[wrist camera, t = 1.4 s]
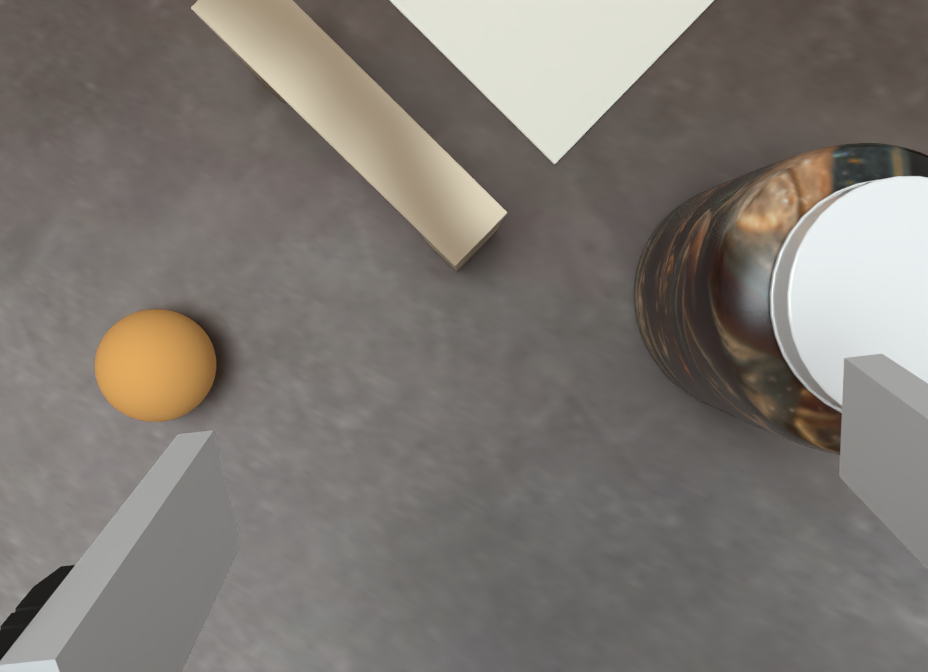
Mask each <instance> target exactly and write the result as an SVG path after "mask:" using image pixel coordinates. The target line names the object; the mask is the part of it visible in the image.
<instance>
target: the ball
mask: <svg viewBox="0 0 928 672" xmlns="http://www.w3.org/2000/svg"><path fill="white" fill-rule="evenodd" d="M95 374H96V379H97V382H98V385H99V388H100V390H101V392H102V393H103V395H104V396H105V398H106V399H107V401H108V402H109V403H110V404H111V405H112V406H113V407H115V408H116V409H117V410H118V411H120V412H122V413H123V414H125V415H127V416H129V417H132V418H134V419H138V420H142V421H150V422H161V421H167V420H172V419H175V418H178V417H181V416H183V415H185V414H187V413H188V412H190V411H191V410H193V409H194V408H195V407H197V406H198V405H199V404H200V403H201V402H202V401H203V399H204V398H205V397H206V395H207V394H208V392H209V391H210V389H211V387H212V384H213V382H214V378H215V374H216V356H215V351H214V348H213V345H212V343H211V341H210V339H209V337H208V336H207V334H206V333H205V331H204V330H203V329H202V328H201V327H200V326H199V325H198V324H197V323H196V322H194V321H193V320H191V319H190V318H188V317H186V316H184V315H182V314H180V313H177V312H174V311H170V310H164V309H149V310H144V311H139V312H136V313H133V314H130V315H128V316H126V317H124V318H123V319H121V320H120V321H118V322H117V323H116V324H114V325H113V326H112V327H111V328H110V329H109V331H108V332H107V333H106V334H105V336H104V337H103V339H102V341H101V342H100V345H99V347H98V350H97V353H96V358H95Z"/></svg>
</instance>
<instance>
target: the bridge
mask: <svg viewBox="0 0 928 672" xmlns="http://www.w3.org/2000/svg"><path fill="white" fill-rule="evenodd" d="M191 9H192V10H193V11H194V12H195V13H196V14H197V15H198V16H199V17H200V18H201V19H202V20H203V21H204V22H205V23H206V24H207V25H208V26H209V27H210V29H211V30H212V31H213V32H214V33H215V34H216V35H217V36H218V37H219V38H220V39H221V40H222V41H223V42H224V43H225V44H226V45H227V46H228V47H229V48H230V49H231V51H232V52H233V53H234V54H235V55H236V56H237V57H238V58H239V59H240V60H241V61H242V62H243V63H244V64H245V65H246V66H247V67H248V68H249V69H250V70H251V71H252V73H253V74H254V75H255V76H256V77H257V78H258V79H259V80H260V81H262V82H263V83H264V84H265V85H266V86H267V87H268V88H269V89H270V90H271V91H272V92H273V93H274V94H275V95H276V96H277V97H278V98H279V99H280V100H281V101H282V102H284V100H285V101H286V102H287V103H288V104H289V105H290V106H291V107H292V108H293V109H294V110H295V111H296V112H297V113H298V114H299V115H300V116H301V117H302V118H303V119H304V120H305V121H306V122H307V123H308V124H309V125H310V126H311V127H312V128H313V129H314V130H315V131H316V132H317V133H318V134H319V135H320V136H322V137H323V138H324V139H325V140H326V141H327V142H328V143H329V144H330V145H331V146H332V147H333V148H334V149H335V150H336V151H337V152H338V153H339V154H340V155H341V156H342V157H343V158H344V159H345V160H346V161H347V162H348V163H349V164H350V165H351V166H352V167H353V168H354V169H355V170H356V171H357V172H358V173H359V174H360V175H361V176H362V177H363V178H364V179H365V180H366V181H368V182H369V183H370V184H371V185H372V186H373V187H374V188H375V189H376V190H377V191H378V192H379V193H380V194H381V195H382V196H383V197H384V198H385V199H386V200H387V201H388V202H389V203H390V204H391V205H392V206H393V207H394V208H395V209H396V210H397V211H398V212H399V213H400V214H401V215H402V216H403V217H404V218H405V219H406V220H407V221H408V222H409V223H410V224H411V225H412V226H414V227H415V228H416V229H417V230H418V231H419V232H420V233H421V235H422V236H423V237H424V239H425V240H426V242H427V243H428V245H429V246H430V247H431V248H432V249H433V250H434V251H435V252H436V253H437V254H438V255H439V256H440V257H441V258H442V259H443V260H444V261H446V262H447V263H448V264H449V265H450V266H451V267H452V268H453V269H454V270H455V271H456V272H457V271H458V270H459V269H460V268H461V267H462V266H463V265H464V264H465V263H466V262H467V261H468V260H469V259H470V258H471V257H472V256H473V255H474V254H475V253H476V252H477V251H478V250H479V249H480V248H481V247H482V246H483V245H484V244H485V243H486V242H487V241H488V240H489V239H490V238H491V236H492V235H493V234H494V233H495V232H496V231H497V230H498V228H499V226H500V225H501V223H502V221H503V219H504V218H505V216H506V214H507V212H506V211H505V210H504V209H503V208H502V207H501V206H500V205H499V204H498V203H497V202H496V201H495V200H494V199H493V198H492V197H491V196H490V195H489V194H488V193H487V192H486V191H485V190H484V189H483V188H482V187H481V186H480V185H479V184H478V183H477V182H476V181H475V180H474V179H473V178H472V177H471V176H470V175H469V174H468V173H467V172H466V171H465V170H464V169H463V168H462V167H461V166H460V165H459V164H458V163H457V162H456V161H455V160H454V159H453V158H452V157H451V156H450V155H449V154H448V153H447V152H446V151H445V150H444V149H443V148H442V147H440V146H439V145H438V144H437V143H436V142H435V141H434V140H433V139H432V138H431V137H430V136H429V135H428V134H427V133H426V132H425V131H424V130H423V129H422V128H421V127H420V126H419V125H418V124H417V123H416V122H415V121H414V120H413V119H412V118H411V117H410V116H409V115H408V114H407V113H406V112H405V111H404V110H403V109H402V108H401V107H400V106H399V105H398V104H397V103H396V102H395V101H394V100H393V99H392V98H391V97H390V96H389V95H388V94H387V93H386V92H385V91H384V90H383V89H382V88H381V87H380V86H379V85H378V84H377V83H376V82H375V81H374V80H373V79H372V78H371V77H370V76H369V75H368V74H367V73H365V72H364V71H363V70H362V69H361V68H360V67H359V66H358V65H357V64H356V63H355V62H354V61H353V60H352V59H351V58H350V57H349V56H348V55H347V54H346V53H345V52H344V51H343V50H342V49H341V48H340V47H339V46H338V45H337V44H336V43H335V42H334V41H333V40H332V39H331V38H330V37H329V36H328V35H327V34H326V33H325V32H324V31H323V30H322V29H321V28H320V27H319V26H318V25H317V24H316V23H315V22H314V21H313V20H312V19H311V18H310V17H309V16H308V15H307V14H306V13H305V12H304V11H303V10H302V9H301V8H300V7H299V6H298V5H297V4H296V3H295V2H294V1H293V0H198V1H197V2H196V3H195V4H194V5H193V6H192V7H191Z"/></svg>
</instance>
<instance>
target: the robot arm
mask: <svg viewBox="0 0 928 672" xmlns="http://www.w3.org/2000/svg"><path fill="white" fill-rule="evenodd" d="M839 477H840V478H841V479H842V480H843V481H844V482H845V483H846V484H847V485H848V486H849V488H850V489H851V490H852V491H853V492H854V493H855V494H856V495H857V496H858V497H859V498H860V499H861V500H862V501H863V502H864V503H865V504H866V505H867V506H868V508H869V509H870V510H871V511H872V512H873V513H874V514H875V515H876V516H877V517H878V518H879V519H880V520H881V521H882V522H883V523H884V524H885V525H886V526H887V528H888V529H889V530H890V531H891V532H892V533H893V534H894V535H895V536H896V537H897V538H898V539H899V540H900V541H901V542H902V543H903V544H904V545H905V546H906V548H907V549H908V550H909V551H910V552H911V553H912V554H913V555H914V556H915V557H916V558H917V559H918V560H919V561H920V562H921V563H922V564H923V565H924V566H925V568H926V569H927V570H928V383H926V382H925V381H923V380H922V379H920V378H919V377H917V376H915V375H914V374H912V373H911V372H909V371H908V370H906V369H905V368H903V367H902V366H900V365H899V364H897V363H896V362H894V361H893V360H891V359H890V358H888V357H886V356H885V355H883V354H875V355H866V356H857V357H848V358H844V375H843V399H842V422H841V446H840V470H839ZM241 543H242V541H241V537H240V533H239V529H238V525H237V521H236V517H235V513H234V509H233V505H232V501H231V497H230V494H229V490H228V486H227V482H226V478H225V474H224V470H223V466H222V462H221V458H220V454H219V450H218V446H217V442H216V438H215V434H214V430H212V431H203V432H195V433H186V434H178V435H177V436H176V437H175V439H174V440H173V441H172V443H171V444H170V445H169V446H168V448H167V449H166V450H165V451H164V453H163V454H162V455H161V457H160V458H159V459H158V460H157V462H156V463H155V464H154V465H153V467H152V468H151V469H150V471H149V472H148V473H147V474H146V476H145V477H144V478H143V479H142V481H141V482H140V483H139V485H138V486H137V487H136V488H135V490H134V491H133V492H132V494H131V495H130V496H129V497H128V499H127V500H126V501H125V502H124V504H123V505H122V506H121V508H120V509H119V510H118V511H117V513H116V514H115V515H114V516H113V518H112V519H111V520H110V522H109V523H108V524H107V525H106V527H105V528H104V529H103V530H102V532H101V533H100V534H99V536H98V537H97V538H96V539H95V541H94V542H93V543H92V545H91V546H90V547H89V548H88V550H87V551H86V552H85V553H84V555H83V556H82V557H81V559H80V560H79V561H78V562H77V564H76V565H71V566H62V567H60V568H58V569H57V570H56V571H54V572H53V573H52V574H50V575H49V576H48V577H46V578H45V579H44V580H42V581H41V582H39V583H38V584H37V585H35V586H34V587H33V588H32V589H31V591H30V592H29V593H28V594H27V595H26V597H25V598H24V599H23V600H22V601H21V603H20V604H19V605H18V606H17V607H16V612H15V613H11V615H10V616H9V617H8V618H7V619H6V621H5V622H4V623H3V624H2V625H1V630H0V672H182V670H183V667H184V665H185V663H186V661H187V659H188V657H189V654H190V652H191V650H192V648H193V646H194V644H195V642H196V639H197V637H198V635H199V633H200V631H201V629H202V627H203V624H204V622H205V620H206V618H207V616H208V614H209V612H210V609H211V607H212V605H213V603H214V601H215V599H216V597H217V594H218V592H219V590H220V588H221V586H222V584H223V581H224V579H225V577H226V575H227V573H228V571H229V569H230V566H231V564H232V562H233V560H234V558H235V556H236V554H237V551H238V549H239V547H240V545H241Z"/></svg>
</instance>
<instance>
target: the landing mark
mask: <svg viewBox="0 0 928 672" xmlns="http://www.w3.org/2000/svg"><path fill="white" fill-rule="evenodd" d="M389 1H390V2H391V3H392V4H393V5H394V6H395V7H396V8H397V9H398V10H399V11H400V12H401V13H402V14H403V15H404V16H405V17H406V18H407V19H408V20H409V21H410V22H411V23H412V24H413V25H414V26H415V27H416V28H417V29H418V30H419V31H420V32H421V33H422V34H423V35H424V36H425V37H426V38H427V39H428V40H429V41H430V42H431V43H432V44H433V45H434V46H435V47H436V48H437V49H438V50H439V51H440V52H441V53H442V54H443V55H444V56H445V57H446V58H447V59H448V60H449V61H450V62H451V63H452V64H453V65H454V66H455V67H456V68H457V69H458V70H459V71H460V72H461V73H462V74H463V75H464V76H465V77H466V78H467V79H468V80H469V81H470V82H471V83H472V84H473V85H474V86H475V87H476V88H477V89H478V90H479V91H480V92H481V93H482V94H483V95H484V96H485V97H486V98H487V99H488V100H489V101H490V102H491V103H492V104H493V105H494V106H495V107H496V108H497V109H498V110H499V111H500V112H501V113H502V114H503V115H504V116H505V117H506V118H507V119H508V120H509V121H510V122H511V123H512V124H513V125H515V126H516V127H517V128H518V129H519V130H520V131H521V132H522V133H523V134H524V135H525V136H526V137H527V138H528V139H529V140H530V141H531V142H532V143H533V144H534V145H535V146H536V147H537V148H538V149H539V150H540V151H541V152H542V153H543V154H544V155H545V156H546V157H547V158H548V159H549V160H550V161H551V162H552V163H553V164H554V165H555V164H556V163H557V162H558V161H559V160H560V159H561V158H562V156H563V155H564V154H565V153H566V152H567V151H568V150H569V149H570V148H571V147H572V146H573V145H574V144H575V143H576V142H577V141H578V140H579V139H580V138H581V137H582V136H583V135H584V134H585V133H586V132H587V131H588V130H589V129H590V128H591V127H592V126H593V125H594V124H595V123H596V121H597V120H598V119H599V118H600V117H601V116H602V115H603V114H604V113H605V112H606V111H607V110H608V109H609V108H610V107H611V106H612V105H613V104H614V103H615V102H616V101H617V100H618V99H619V98H620V97H621V96H622V95H623V94H624V93H625V92H626V91H627V90H628V89H629V88H630V86H631V85H632V84H633V83H634V82H635V81H636V80H637V79H638V78H639V77H640V76H641V75H642V74H643V73H644V72H645V71H646V70H647V69H648V68H649V67H650V66H651V65H652V64H653V63H654V62H655V61H656V60H657V59H658V58H659V57H660V56H661V55H662V54H663V53H664V52H665V50H666V49H667V48H668V47H669V46H670V45H671V44H672V43H673V42H674V41H675V40H676V39H677V38H678V37H679V36H680V35H681V34H682V33H683V32H684V31H685V30H686V29H687V28H688V27H689V26H690V25H691V24H692V23H693V22H694V21H695V20H696V19H697V18H698V17H699V15H700V14H701V13H702V12H703V11H704V10H705V9H706V8H707V7H708V6H709V5H710V4H711V3H712V2H713V1H714V0H389Z"/></svg>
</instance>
